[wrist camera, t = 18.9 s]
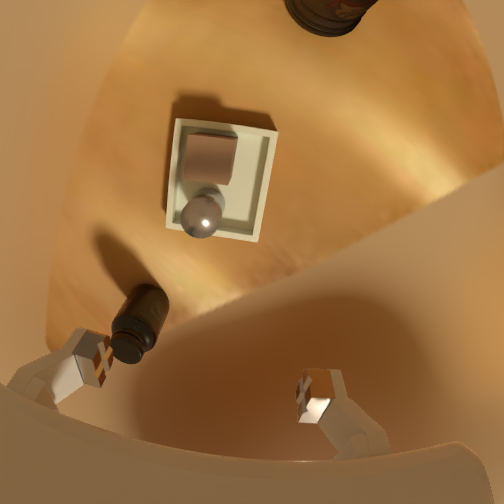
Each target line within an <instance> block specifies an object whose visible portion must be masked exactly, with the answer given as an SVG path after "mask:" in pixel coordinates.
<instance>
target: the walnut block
mask: <svg viewBox="0 0 504 504" xmlns="http://www.w3.org/2000/svg"><path fill="white" fill-rule="evenodd" d="M237 141H238V137H234V136H226V135H219V134H211V133H202V132H195V133H191V134H188V138H187V146H186V154H185V163H184V172H183V179H184V180H191V181H199V182H206V183H213V184H220V185H227V186H228V184H229V182H230V180H231V178H232V173H233V166H234V160H235V154H236V147H237Z"/></svg>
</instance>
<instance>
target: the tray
mask: <svg viewBox="0 0 504 504" xmlns="http://www.w3.org/2000/svg"><path fill="white" fill-rule="evenodd" d="M195 132H202V133H211V134H219V135H226V136H234V137H238V141H237V147H236V154H235V160H234V166H233V173H232V178H231V180H230V182H229V184H228V186H227V185H220V184H213V183H206V182H199V181H191V180H184V179H183V172H184V163H185V154H186V146H187V138H188V134H191V133H195ZM277 137H278V131H274V130H268V129H262V128H256V127H250V126H244V125H237V124H230V123H222V122H214V121H205V120H196V119H185V118H176V121H175V129H174V137H173V146H172V155H171V165H170V175H169V186H168V199H167V214H166V228H169V229H175V230H182V231H185V230H184V229H183V227H182V225H181V222H180V215H181V211H182V209H183V208H184V207H185V205H186V204H187V203H188V201H189V200H190V199H191V198H192V196H193V195H194V194H195V193H196V192H197V191H198V190H199V189H202V188H206V187H210V188H214V189H216V190H218V191H219V192H220V193H221V194H222V195H223V197H224V199H225V209H224V212H223V215H222V218H221V221H220V223H219V226H218V229H217V230H216V232H215V233H214V234H213V235H214V236H220V237H227V238H233V239H239V240H245V241H252V242H258V238H259V233H260V228H261V222H262V217H263V212H264V207H265V201H266V196H267V191H268V185H269V180H270V174H271V169H272V164H273V158H274V153H275V148H276V142H277Z"/></svg>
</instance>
